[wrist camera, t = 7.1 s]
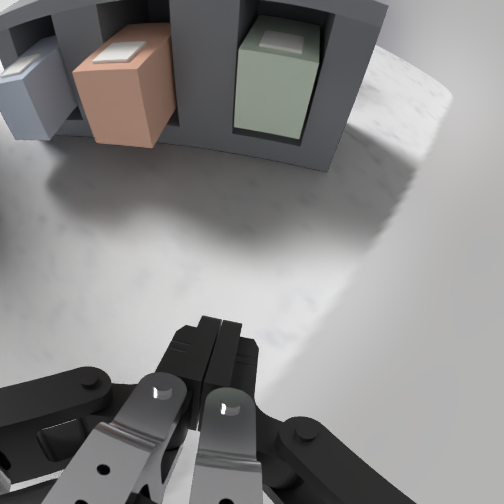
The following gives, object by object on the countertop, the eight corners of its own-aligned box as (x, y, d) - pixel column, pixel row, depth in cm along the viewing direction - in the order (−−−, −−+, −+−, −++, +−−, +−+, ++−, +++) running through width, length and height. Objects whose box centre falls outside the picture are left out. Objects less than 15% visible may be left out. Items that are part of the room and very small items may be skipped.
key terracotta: (96, 143, 18) (71, 69, 13) (138, 86, 21) (127, 22, 16) (152, 148, 18) (136, 65, 12) (187, 89, 21) (184, 20, 16)
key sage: (233, 127, 19) (238, 46, 14) (252, 77, 23) (259, 12, 17) (299, 139, 19) (319, 60, 14) (305, 87, 22) (320, 23, 17)
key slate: (15, 140, 18) (-13, 84, 13) (58, 88, 21) (41, 36, 16) (50, 140, 18) (21, 76, 13) (93, 86, 21) (78, 28, 16)
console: (34, 134, 23) (-13, 21, 11) (74, 87, 27) (46, -16, 14) (326, 172, 23) (388, 5, 10) (328, 113, 26) (368, -19, 14)
